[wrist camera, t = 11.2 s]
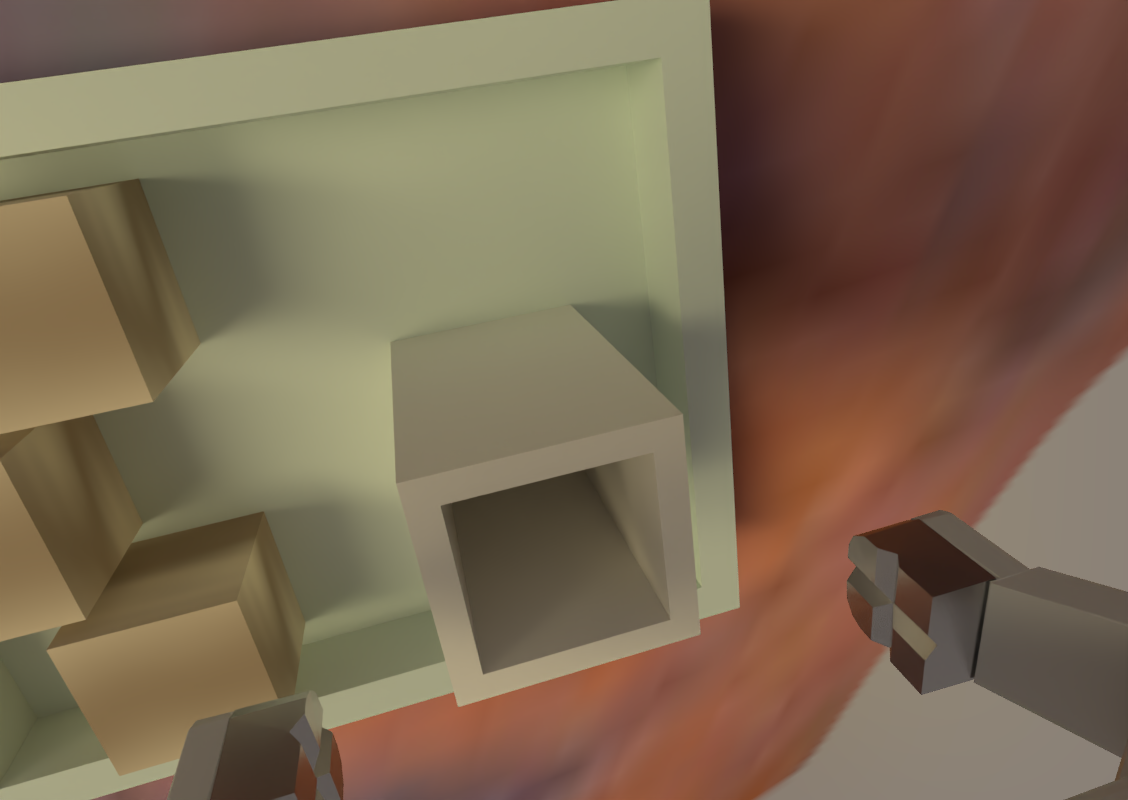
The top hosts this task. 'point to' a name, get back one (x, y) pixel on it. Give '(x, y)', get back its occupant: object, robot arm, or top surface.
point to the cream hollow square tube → (541, 499)
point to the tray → (381, 298)
